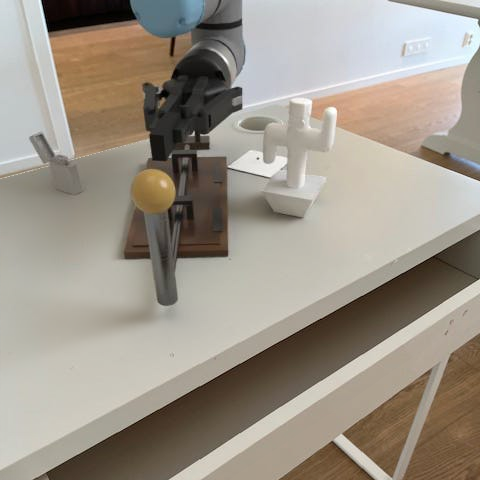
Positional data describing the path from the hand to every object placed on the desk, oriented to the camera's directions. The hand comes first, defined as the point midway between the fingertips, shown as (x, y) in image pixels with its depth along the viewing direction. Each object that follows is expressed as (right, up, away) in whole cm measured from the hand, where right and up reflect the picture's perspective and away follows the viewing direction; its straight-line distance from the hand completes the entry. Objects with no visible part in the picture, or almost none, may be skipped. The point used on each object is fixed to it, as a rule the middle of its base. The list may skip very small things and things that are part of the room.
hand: (157, 148), depth 52 cm
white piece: (+12, +8, +33) cm, 36 cm away
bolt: (0, -3, +17) cm, 18 cm away
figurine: (+16, -1, +22) cm, 27 cm away
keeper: (-1, +13, +39) cm, 41 cm away
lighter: (-19, +3, +27) cm, 34 cm away
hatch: (0, 0, +23) cm, 23 cm away
